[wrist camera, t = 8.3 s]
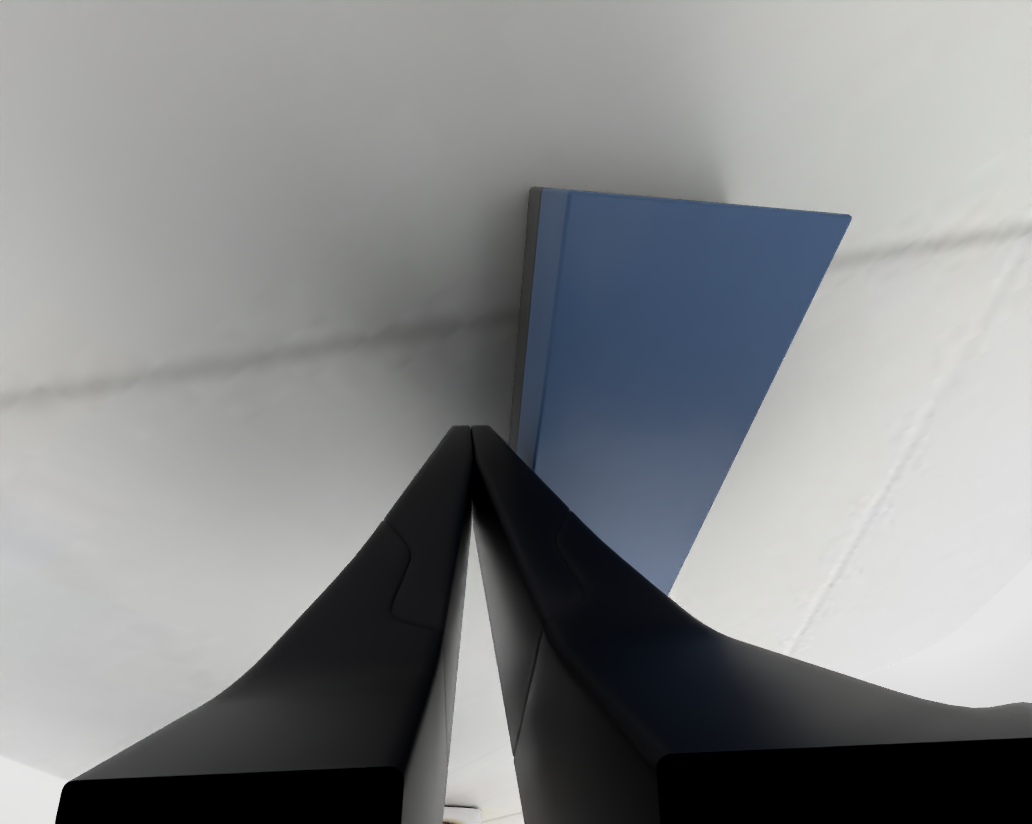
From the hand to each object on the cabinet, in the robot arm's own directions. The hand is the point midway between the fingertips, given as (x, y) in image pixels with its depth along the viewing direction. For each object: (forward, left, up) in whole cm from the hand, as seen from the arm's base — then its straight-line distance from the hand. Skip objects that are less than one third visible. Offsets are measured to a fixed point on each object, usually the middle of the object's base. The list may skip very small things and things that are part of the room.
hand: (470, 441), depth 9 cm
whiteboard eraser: (-1, -3, -2) cm, 4 cm away
